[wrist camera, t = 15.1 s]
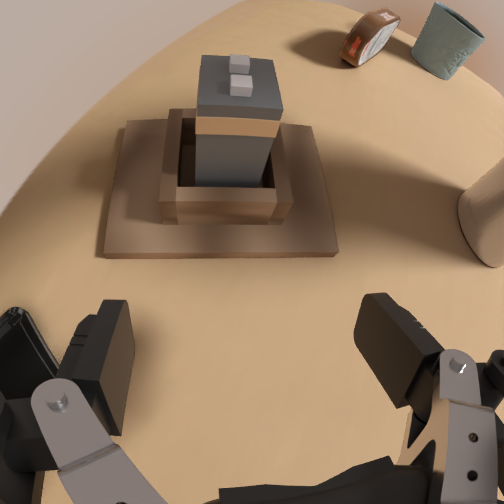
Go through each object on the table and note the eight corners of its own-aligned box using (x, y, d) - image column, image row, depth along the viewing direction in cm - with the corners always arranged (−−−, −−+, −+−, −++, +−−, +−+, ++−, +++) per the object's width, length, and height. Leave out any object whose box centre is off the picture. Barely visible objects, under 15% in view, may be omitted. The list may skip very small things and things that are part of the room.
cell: (249, 154, 23) (275, 51, 15) (253, 204, 22) (287, 101, 13) (196, 152, 23) (201, 46, 14) (194, 204, 21) (196, 95, 12)
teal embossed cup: (401, 41, 42) (427, -5, 31) (443, 62, 43) (470, 21, 32) (416, 69, 38) (449, 16, 27) (461, 92, 39) (495, 47, 28)
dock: (307, 133, 27) (321, 102, 23) (333, 256, 22) (357, 233, 19) (128, 128, 24) (122, 94, 20) (107, 258, 20) (89, 233, 16)
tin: (370, 41, 39) (389, 3, 31) (386, 52, 38) (407, 13, 31) (331, 65, 33) (353, 12, 25) (352, 78, 32) (378, 26, 25)
